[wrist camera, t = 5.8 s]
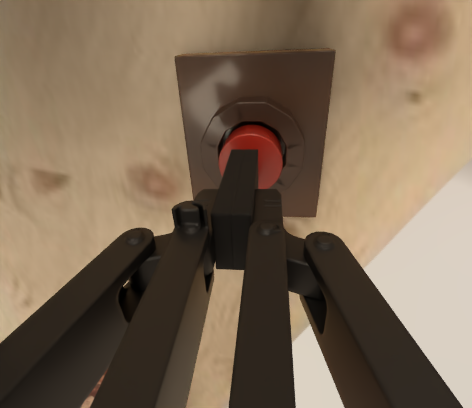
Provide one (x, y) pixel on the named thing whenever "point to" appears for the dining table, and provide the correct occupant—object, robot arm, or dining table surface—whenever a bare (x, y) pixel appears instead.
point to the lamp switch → (267, 152)
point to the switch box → (259, 114)
